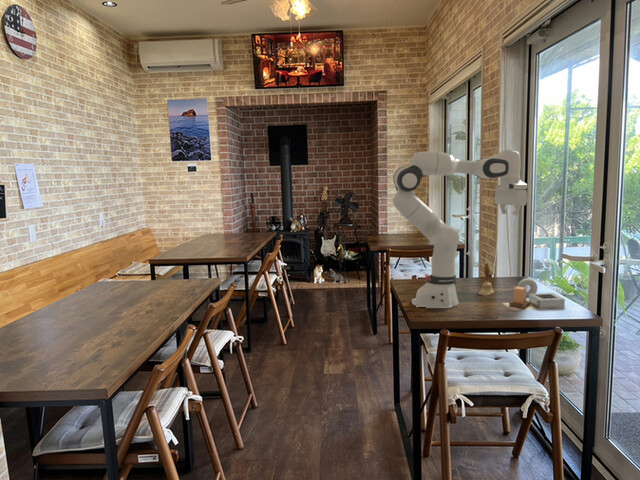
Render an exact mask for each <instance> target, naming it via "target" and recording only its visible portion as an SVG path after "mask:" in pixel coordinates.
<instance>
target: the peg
mask: <svg viewBox="0 0 640 480" xmlns="http://www.w3.org/2000/svg"><path fill="white" fill-rule="evenodd" d="M526 291H527V287H526V286H525V287H517V286H516V287H514V288H513V300H514V303H520V304H524V303H526V301H527V296H526Z"/></svg>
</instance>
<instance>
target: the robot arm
mask: <svg viewBox="0 0 640 480" xmlns="http://www.w3.org/2000/svg"><path fill="white" fill-rule="evenodd" d="M521 164H522V163H521V154H520V152H519V151H516V150H515V149H514V150H513V149H502V150H501V151H500V152H499V153H497V154H495V155H494V156H490V157H485V158H484V157H483V158H480V159H478V160H466V159H464V160H463V159H460V158H459V159H458V158H455V157H454V155H453V154H450V153H447V152H442V151H419V152H415V153H414V154H413V156H412V157H411V160H410V164H409V165H407V166H400V167H399V168H397V169H396V170H395V171H394V174H393V178H392V180H393V184H394V188H395V189H396V192H395V194H394V195H393V198H392V203H393V206H394V207H395V209H396V210H397V211H398V212H399V213H400V214H401V215H402V216H403V217H404V218H405V219H406V220H407V221H408V222H410V223H411V224H412V225H413V226H414V227H415V228H417V230H418V231H419V232H420V233H422V234H423V236H425V238H427V239H428V240H429V241H430V242H431V243H432V244H433V251H432V257H431V265H430V266H431V274H430V275H429V274H425V275H424V277H425V280H427V282H426V283H425V284H424V285H422V286H421V287H420V288H418V289H417V291H416V294H415V298H413V299H411V302H412V303H411V305H412V304H413V305H415V306H416V307H415V306H414V307H415V308H418V307H426V308H425V309H451V308H453V307H456V306H458V305H459V299H458V295H457V290H456V289H457V275H456V255H457V250H458V249H457V248H458V244H459V242H460V234H459V232H458V231H457V230H456V228H455V227H453V226H451V225H449V224H446V222H444V221H443V220H442V219H441V218H440V217H439V216H438V215H437V214H436V213H435V211H434V210H432V209H431V208H430V207H429V206H428V205H427V204H426V203H425V202H424V201H422V200H421V199H420V198H419V197H418V196H417V194H416V193H415V192H414V191H415V190H416V189H417V188H419V185H420V184H421V181H422V179H423V177H424V176H437V177H438V176H439V177H440V176H442V177H444V176H449V175H451V174H468V175H472V176H476V177H477V179H478V178H479V179H480V180H488V179H491V180H494V179H497V178H499V185H498V186H497V188H496V190H495V195H494V203H495V204H496V205H499V208H500V210H501V214H502V215H506V214H507V213H508V212H507V209H506V206H514V211H512V214H513V216H519V211H520V209H521V206H522V207H524V206H526V205H527V203H528V202H527V201H528V192H527V189H528V184H527V183H526V182H523V181H522V180H521V166H522V165H521ZM413 305H412V306H413Z"/></svg>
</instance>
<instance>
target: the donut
mask: <svg viewBox="0 0 640 480" xmlns="http://www.w3.org/2000/svg"><path fill="white" fill-rule="evenodd" d="M527 286H529V289H528V290H526V297H529V294H537V291H538V284H537V282H536V281H535V280H534V279H532V278H530V277H529V278H523V279H521V280H520V281H518V284H517V285H516V287H525V288H526V287H527Z"/></svg>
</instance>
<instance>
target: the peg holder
mask: <svg viewBox="0 0 640 480" xmlns="http://www.w3.org/2000/svg"><path fill="white" fill-rule="evenodd" d="M508 303H509V307H515V308H521V309H525V308H527V307H529V306H530V301H529V300H526V303H524V304H520V303H514V299H512V300H511V301H509V302H508Z"/></svg>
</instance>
